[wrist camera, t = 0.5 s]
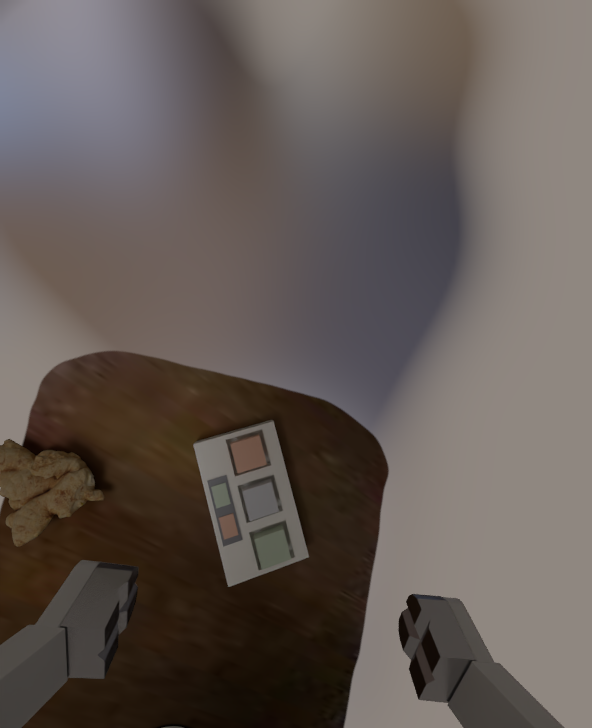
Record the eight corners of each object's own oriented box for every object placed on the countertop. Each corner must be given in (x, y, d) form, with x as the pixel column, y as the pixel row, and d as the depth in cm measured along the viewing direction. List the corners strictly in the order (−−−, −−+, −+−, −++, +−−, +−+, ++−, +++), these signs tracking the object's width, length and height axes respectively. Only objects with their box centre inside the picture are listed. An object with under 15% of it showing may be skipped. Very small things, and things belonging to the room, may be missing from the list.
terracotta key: (266, 461, 54) (266, 464, 52) (238, 470, 54) (237, 473, 52) (259, 434, 55) (259, 435, 53) (230, 442, 54) (230, 444, 52)
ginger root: (111, 525, 51) (72, 548, 43) (22, 530, 53) (-31, 553, 45) (109, 429, 53) (72, 434, 45) (24, 436, 55) (-27, 443, 47)
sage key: (289, 553, 54) (291, 559, 52) (261, 563, 53) (261, 569, 51) (282, 524, 54) (283, 529, 52) (254, 534, 53) (254, 539, 51)
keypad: (305, 547, 57) (309, 558, 53) (229, 574, 55) (228, 588, 51) (272, 419, 58) (273, 421, 54) (196, 441, 56) (192, 444, 52)
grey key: (277, 507, 54) (279, 511, 52) (249, 516, 53) (249, 521, 51) (270, 478, 54) (271, 482, 52) (242, 487, 53) (242, 491, 51)
